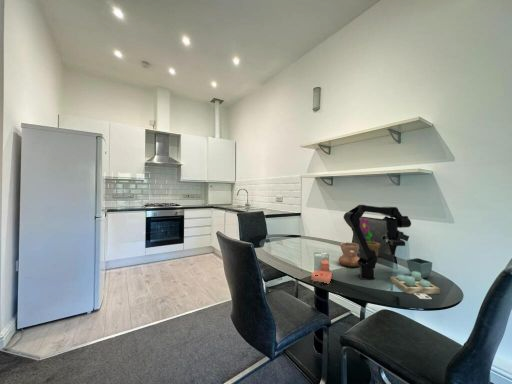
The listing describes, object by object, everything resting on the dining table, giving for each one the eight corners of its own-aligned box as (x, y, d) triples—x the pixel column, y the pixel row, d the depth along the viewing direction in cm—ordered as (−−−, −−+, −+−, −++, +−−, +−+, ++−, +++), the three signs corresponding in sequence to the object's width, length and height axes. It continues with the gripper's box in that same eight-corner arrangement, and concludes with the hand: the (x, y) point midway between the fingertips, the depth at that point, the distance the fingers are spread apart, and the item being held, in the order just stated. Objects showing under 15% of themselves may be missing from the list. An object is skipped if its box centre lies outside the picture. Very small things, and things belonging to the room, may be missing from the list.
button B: (408, 287, 108) (407, 278, 108) (403, 283, 112) (403, 275, 112) (416, 287, 108) (416, 279, 108) (411, 283, 112) (411, 275, 112)
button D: (423, 291, 107) (423, 283, 107) (418, 287, 111) (418, 279, 111) (432, 291, 107) (432, 283, 107) (426, 288, 111) (426, 280, 111)
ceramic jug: (365, 269, 140) (364, 247, 141) (340, 268, 143) (340, 246, 144) (358, 261, 158) (357, 241, 158) (336, 260, 161) (336, 241, 161)
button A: (400, 285, 115) (400, 277, 115) (396, 282, 119) (396, 274, 119) (408, 285, 115) (408, 277, 115) (404, 282, 119) (403, 274, 119)
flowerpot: (355, 254, 174) (354, 216, 175) (371, 253, 177) (370, 215, 177) (368, 259, 160) (366, 218, 161) (385, 258, 163) (384, 217, 163)
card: (420, 298, 101) (420, 297, 101) (413, 294, 106) (413, 293, 106) (432, 299, 100) (432, 298, 100) (424, 294, 105) (424, 293, 105)
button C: (414, 281, 114) (414, 273, 114) (410, 278, 118) (409, 271, 118) (422, 281, 114) (422, 273, 114) (418, 278, 118) (417, 271, 118)
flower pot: (421, 280, 121) (420, 263, 121) (406, 274, 130) (406, 259, 130) (433, 278, 124) (432, 262, 124) (418, 273, 132) (417, 258, 132)
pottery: (329, 285, 118) (328, 267, 118) (311, 282, 123) (310, 264, 123) (334, 274, 134) (334, 258, 134) (318, 272, 138) (318, 256, 138)
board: (406, 293, 106) (406, 288, 106) (390, 281, 121) (390, 276, 121) (440, 293, 105) (439, 288, 105) (419, 281, 120) (419, 276, 120)
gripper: (415, 230, 120) (416, 259, 119) (399, 225, 138) (400, 251, 138) (392, 230, 121) (393, 259, 121) (379, 225, 140) (380, 250, 140)
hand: (392, 254), depth 130 cm, fingers closed
